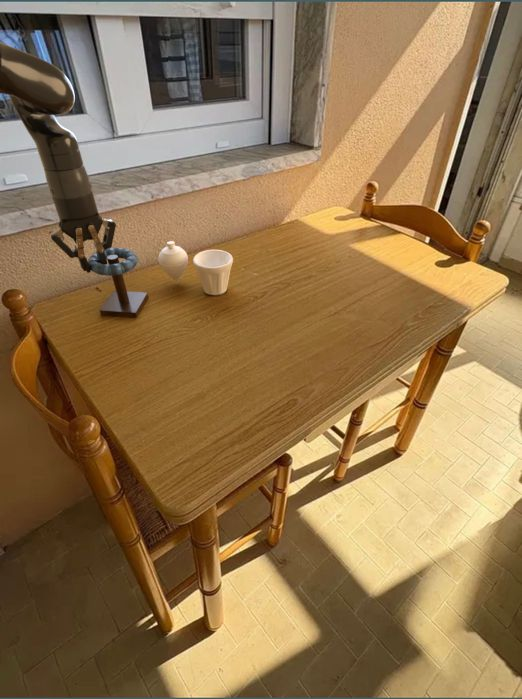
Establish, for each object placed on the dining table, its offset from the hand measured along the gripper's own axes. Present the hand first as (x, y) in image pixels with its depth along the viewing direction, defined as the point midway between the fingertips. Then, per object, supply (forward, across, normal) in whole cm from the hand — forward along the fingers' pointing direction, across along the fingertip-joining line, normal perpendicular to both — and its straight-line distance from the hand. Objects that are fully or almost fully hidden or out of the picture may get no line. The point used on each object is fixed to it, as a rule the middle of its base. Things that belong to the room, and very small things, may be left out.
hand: (95, 268), depth 86 cm
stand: (+12, -4, 0) cm, 13 cm away
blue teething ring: (-1, -4, 0) cm, 4 cm away
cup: (+12, -27, +6) cm, 30 cm away
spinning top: (+12, -20, -2) cm, 23 cm away
